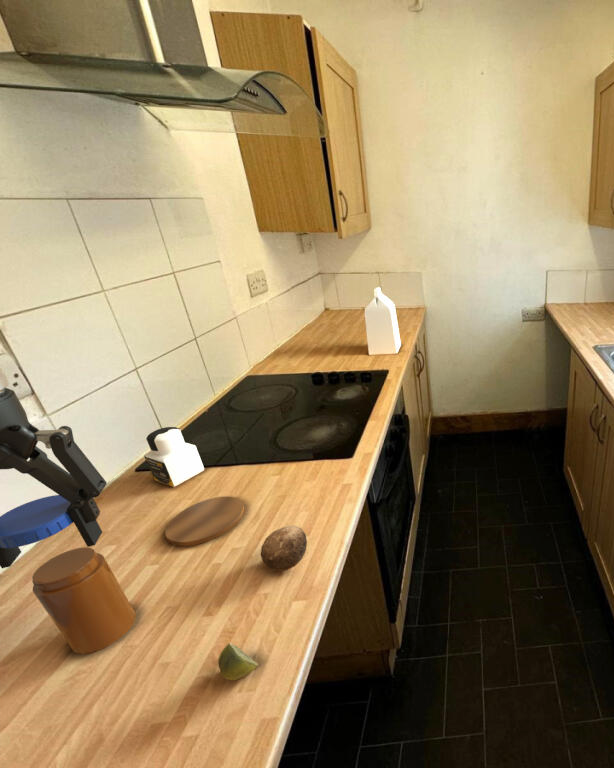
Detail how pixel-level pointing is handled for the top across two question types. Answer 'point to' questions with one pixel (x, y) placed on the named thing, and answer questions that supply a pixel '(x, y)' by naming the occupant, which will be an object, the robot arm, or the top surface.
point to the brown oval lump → (284, 548)
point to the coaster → (204, 521)
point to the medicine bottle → (172, 457)
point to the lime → (235, 663)
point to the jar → (83, 599)
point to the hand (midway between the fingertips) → (54, 549)
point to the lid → (34, 521)
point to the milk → (382, 325)
